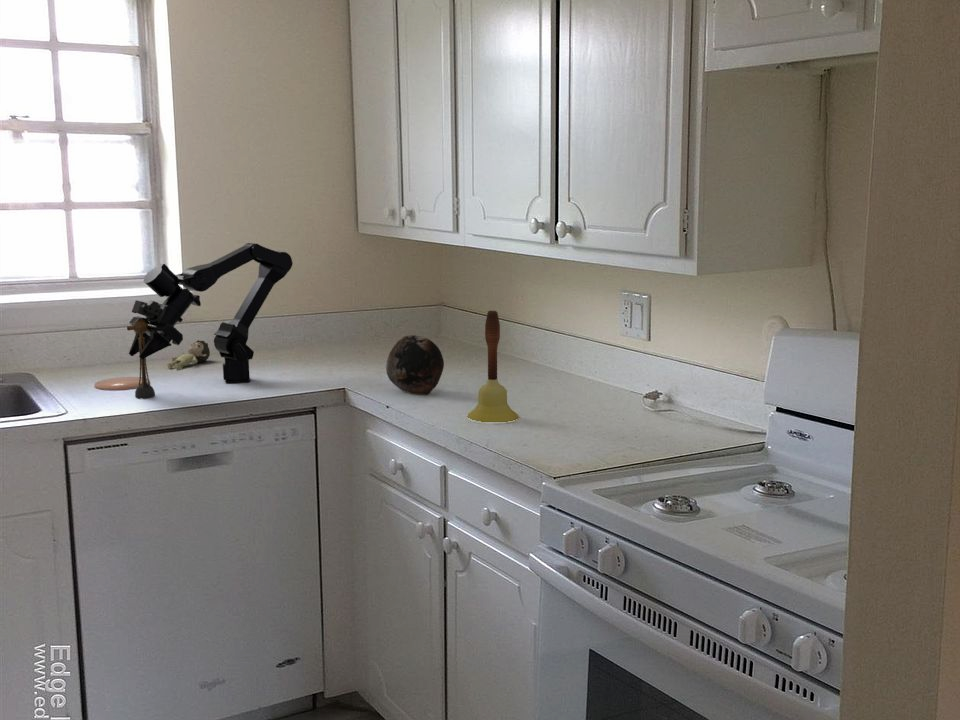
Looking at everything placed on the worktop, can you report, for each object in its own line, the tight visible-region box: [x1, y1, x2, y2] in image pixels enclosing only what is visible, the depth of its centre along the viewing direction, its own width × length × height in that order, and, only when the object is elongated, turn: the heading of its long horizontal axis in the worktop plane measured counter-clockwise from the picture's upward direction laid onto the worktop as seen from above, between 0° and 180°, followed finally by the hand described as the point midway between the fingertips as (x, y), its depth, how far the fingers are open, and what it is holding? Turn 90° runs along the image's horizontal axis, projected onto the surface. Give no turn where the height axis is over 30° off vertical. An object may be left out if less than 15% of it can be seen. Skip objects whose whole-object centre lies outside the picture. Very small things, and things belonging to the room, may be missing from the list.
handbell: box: [466, 310, 520, 422], centre depth 237 cm, size 12×12×25 cm
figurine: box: [166, 339, 211, 371], centre depth 303 cm, size 8×6×15 cm
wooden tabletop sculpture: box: [126, 319, 156, 399], centre depth 261 cm, size 6×5×20 cm
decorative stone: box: [385, 334, 445, 395], centre depth 265 cm, size 18×9×15 cm, turn 53°
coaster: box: [94, 376, 150, 391], centre depth 277 cm, size 14×14×1 cm
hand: (135, 356), depth 260 cm, fingers open, 5 cm apart
